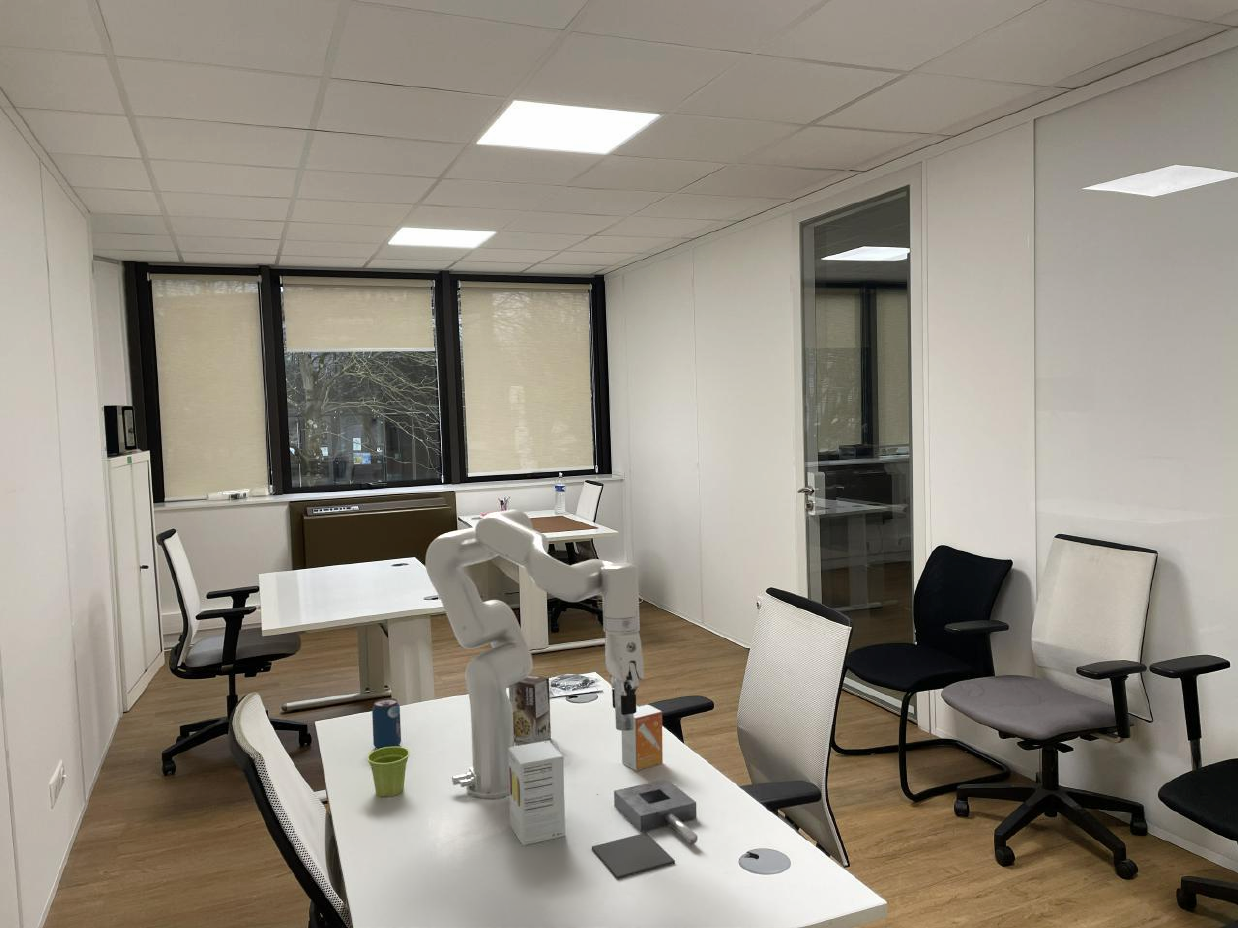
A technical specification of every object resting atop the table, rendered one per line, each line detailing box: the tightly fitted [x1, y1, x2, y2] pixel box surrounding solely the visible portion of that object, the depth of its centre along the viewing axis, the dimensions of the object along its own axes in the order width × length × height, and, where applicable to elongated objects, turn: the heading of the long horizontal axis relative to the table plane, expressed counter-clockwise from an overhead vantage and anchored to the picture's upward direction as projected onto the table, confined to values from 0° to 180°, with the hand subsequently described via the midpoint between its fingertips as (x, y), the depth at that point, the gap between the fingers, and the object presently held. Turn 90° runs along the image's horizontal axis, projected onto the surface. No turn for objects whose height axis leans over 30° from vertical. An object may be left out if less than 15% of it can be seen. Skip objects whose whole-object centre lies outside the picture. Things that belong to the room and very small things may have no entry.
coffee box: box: [508, 674, 552, 744], centre depth 224 cm, size 9×6×16 cm
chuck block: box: [613, 778, 698, 845], centre depth 176 cm, size 13×23×4 cm, turn 25°
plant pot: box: [366, 746, 411, 798], centre depth 194 cm, size 9×9×9 cm
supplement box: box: [508, 740, 566, 846], centre depth 174 cm, size 10×9×17 cm
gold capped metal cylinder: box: [613, 677, 634, 732], centre depth 176 cm, size 4×4×13 cm
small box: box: [621, 704, 664, 772], centre depth 206 cm, size 8×6×13 cm
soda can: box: [371, 697, 402, 750], centre depth 220 cm, size 7×7×12 cm
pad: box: [591, 832, 676, 880], centre depth 163 cm, size 12×12×1 cm
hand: (624, 709), depth 177 cm, fingers closed on gold capped metal cylinder, 3 cm apart
